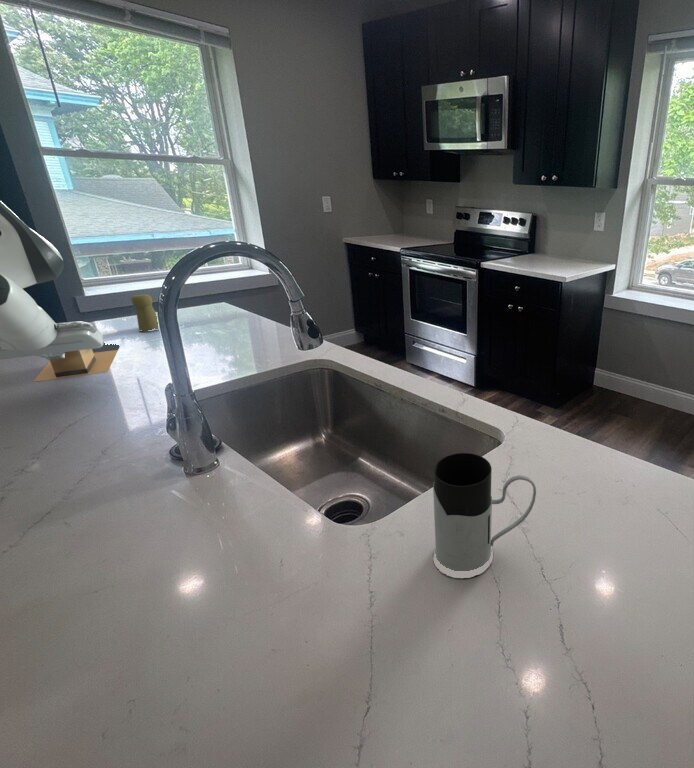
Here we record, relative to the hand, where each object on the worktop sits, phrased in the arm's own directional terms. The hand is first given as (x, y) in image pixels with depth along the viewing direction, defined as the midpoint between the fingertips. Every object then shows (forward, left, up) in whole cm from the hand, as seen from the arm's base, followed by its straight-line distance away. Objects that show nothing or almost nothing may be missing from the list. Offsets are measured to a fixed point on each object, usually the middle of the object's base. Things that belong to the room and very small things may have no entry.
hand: (56, 356), depth 108 cm
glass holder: (+63, -95, -7) cm, 114 cm away
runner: (0, +19, -7) cm, 20 cm away
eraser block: (0, +10, -7) cm, 13 cm away
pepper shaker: (+13, +39, -7) cm, 42 cm away
